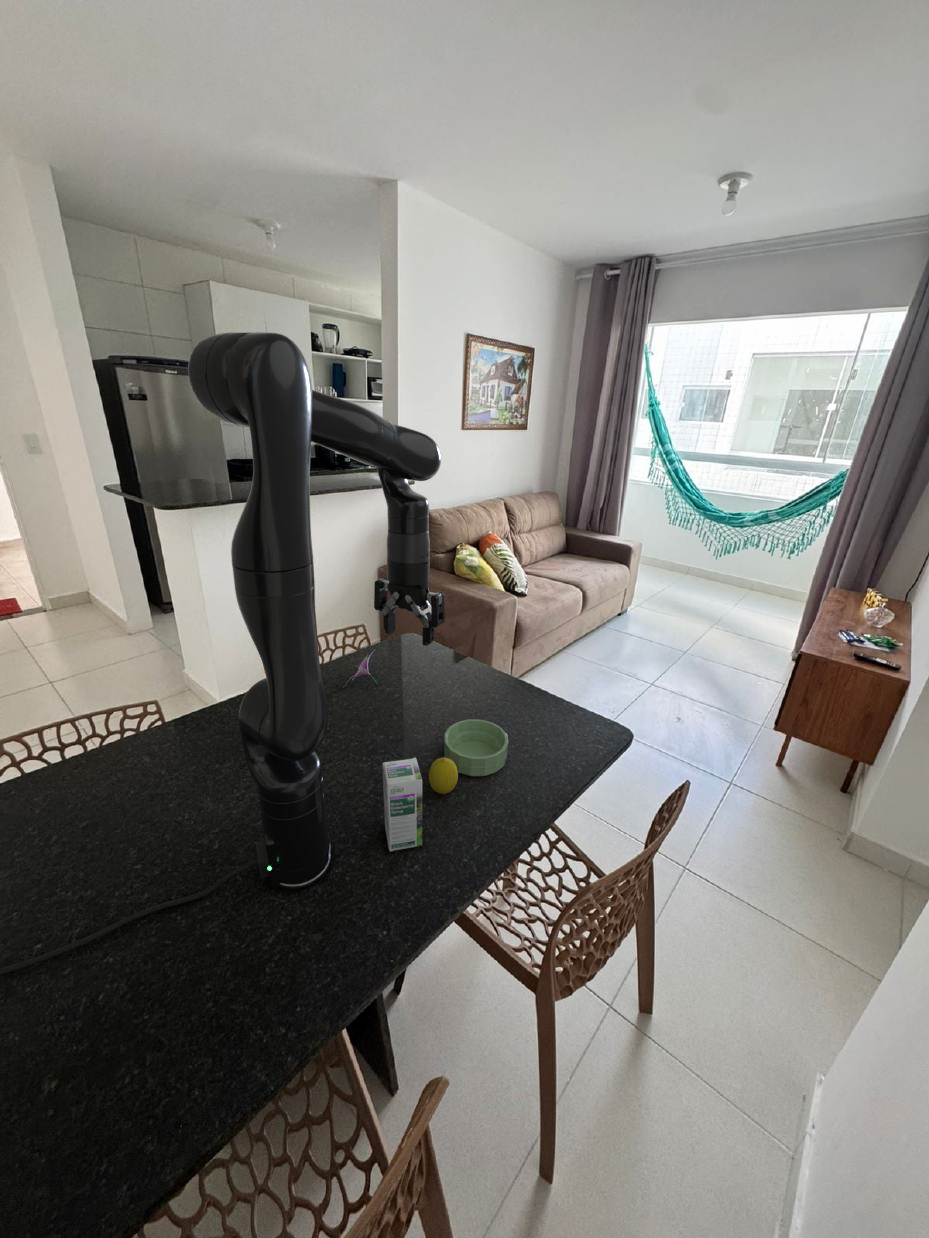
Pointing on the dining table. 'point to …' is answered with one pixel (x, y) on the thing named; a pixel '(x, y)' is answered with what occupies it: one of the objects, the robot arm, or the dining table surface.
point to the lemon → (443, 775)
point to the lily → (363, 669)
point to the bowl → (476, 747)
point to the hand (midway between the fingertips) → (408, 638)
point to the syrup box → (402, 803)
